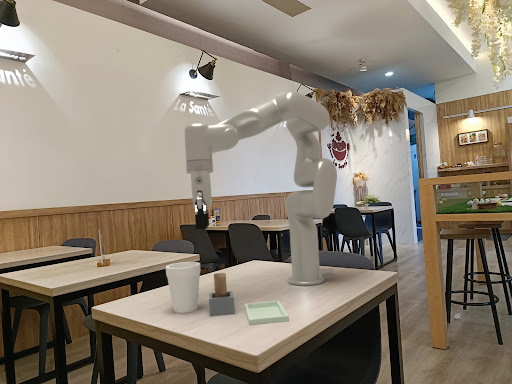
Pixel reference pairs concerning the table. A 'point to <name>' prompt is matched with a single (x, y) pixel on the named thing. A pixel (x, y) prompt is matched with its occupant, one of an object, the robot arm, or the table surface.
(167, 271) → the foam cup
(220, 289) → the dowel
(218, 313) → the pen cup
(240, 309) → the table surface
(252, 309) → the tray
